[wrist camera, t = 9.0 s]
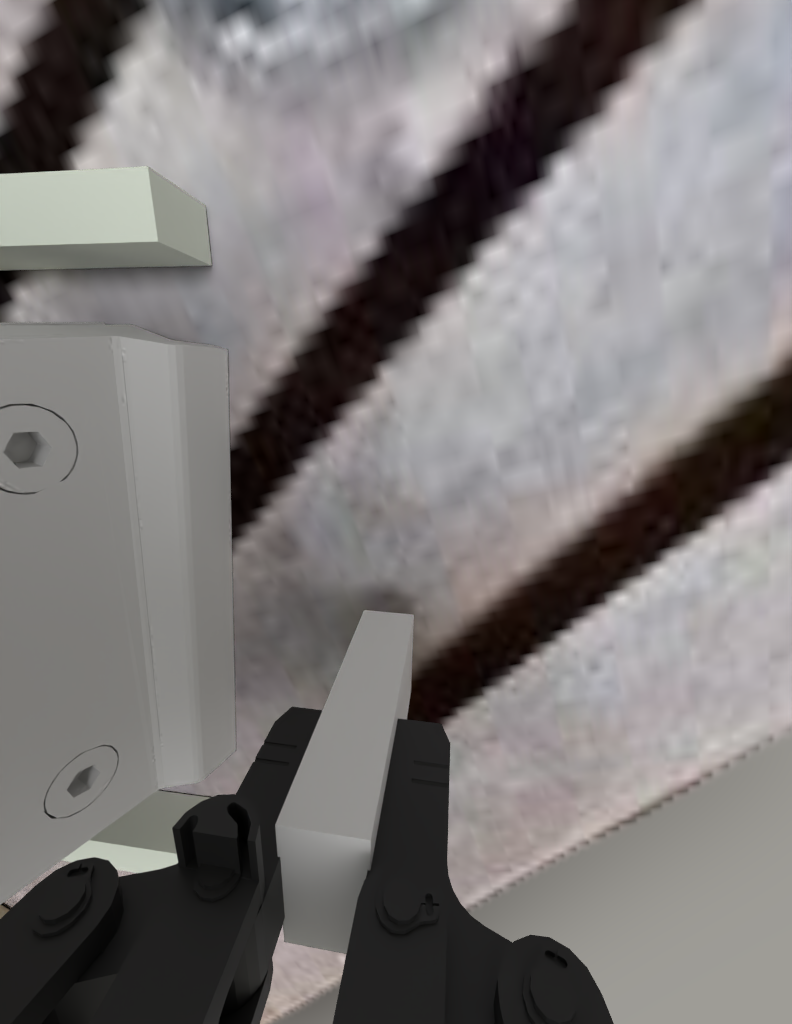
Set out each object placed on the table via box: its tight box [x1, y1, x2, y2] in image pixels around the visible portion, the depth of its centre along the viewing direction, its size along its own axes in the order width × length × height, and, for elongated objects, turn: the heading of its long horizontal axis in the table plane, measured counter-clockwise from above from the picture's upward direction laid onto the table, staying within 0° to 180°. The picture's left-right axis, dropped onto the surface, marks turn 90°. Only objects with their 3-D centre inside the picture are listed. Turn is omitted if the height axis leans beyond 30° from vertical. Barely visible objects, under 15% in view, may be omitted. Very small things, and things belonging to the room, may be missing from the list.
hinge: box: [0, 322, 236, 905], centre depth 12 cm, size 17×5×10 cm, turn 174°
